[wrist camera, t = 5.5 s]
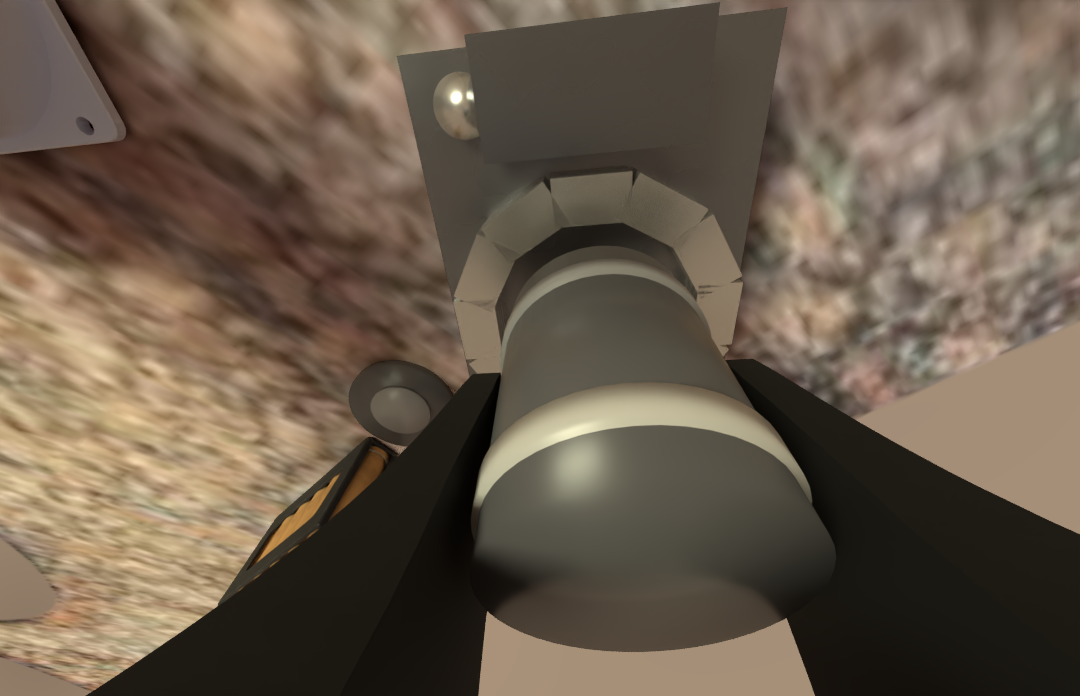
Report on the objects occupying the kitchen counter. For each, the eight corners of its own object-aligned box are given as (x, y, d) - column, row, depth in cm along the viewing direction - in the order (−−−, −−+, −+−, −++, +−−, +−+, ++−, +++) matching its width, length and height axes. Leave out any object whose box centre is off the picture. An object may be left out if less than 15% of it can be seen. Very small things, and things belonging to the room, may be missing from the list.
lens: (522, 404, 11) (501, 657, 6) (488, 255, 9) (408, 490, 4) (685, 390, 11) (794, 650, 6) (700, 228, 8) (916, 456, 3)
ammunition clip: (371, 434, 20) (181, 764, 10) (400, 453, 21) (249, 781, 11) (275, 518, 24) (72, 813, 14) (302, 532, 25) (126, 823, 15)
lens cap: (374, 437, 21) (366, 451, 20) (341, 359, 18) (330, 371, 17) (466, 433, 21) (462, 447, 20) (445, 353, 18) (439, 365, 17)
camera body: (498, 415, 19) (483, 494, 15) (431, 67, 12) (369, 47, 8) (686, 406, 18) (721, 487, 15) (735, 30, 11) (829, -12, 7)
